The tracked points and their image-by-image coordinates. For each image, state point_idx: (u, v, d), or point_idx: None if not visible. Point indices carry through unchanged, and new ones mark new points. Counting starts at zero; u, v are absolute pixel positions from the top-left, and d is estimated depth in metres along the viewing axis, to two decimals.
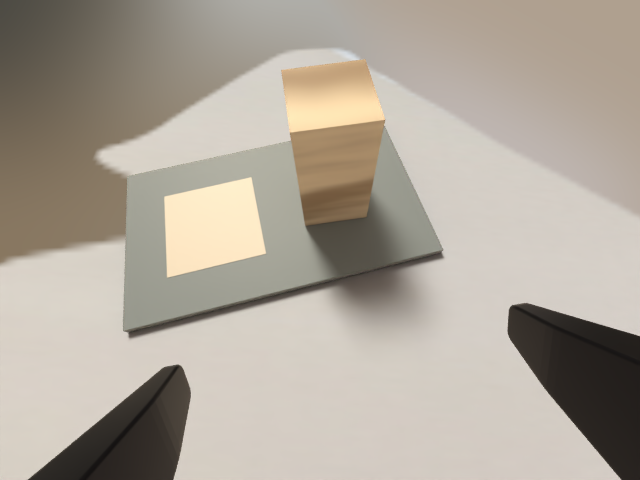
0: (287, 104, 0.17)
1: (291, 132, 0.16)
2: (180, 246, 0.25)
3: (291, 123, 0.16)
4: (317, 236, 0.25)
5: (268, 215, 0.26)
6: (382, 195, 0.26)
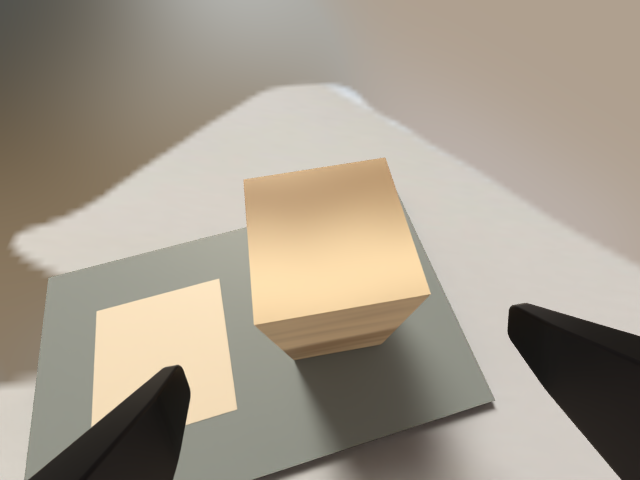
0: (251, 256, 0.10)
1: (256, 323, 0.09)
2: (113, 397, 0.17)
3: (256, 301, 0.09)
4: (311, 378, 0.17)
5: (242, 341, 0.18)
6: None
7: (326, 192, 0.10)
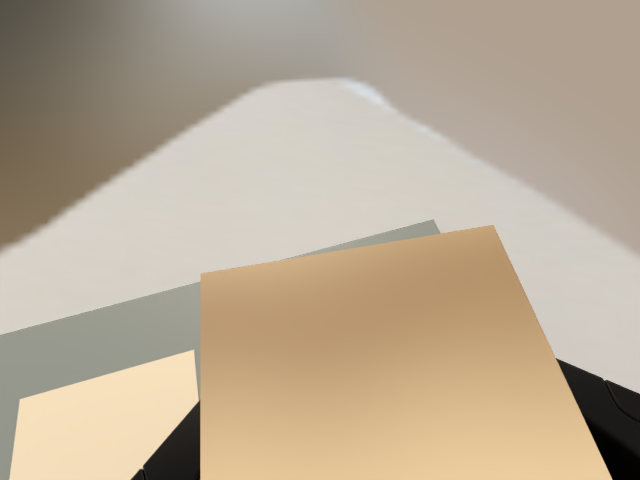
0: None
1: None
2: None
3: None
4: None
5: None
6: None
7: (378, 309, 0.05)
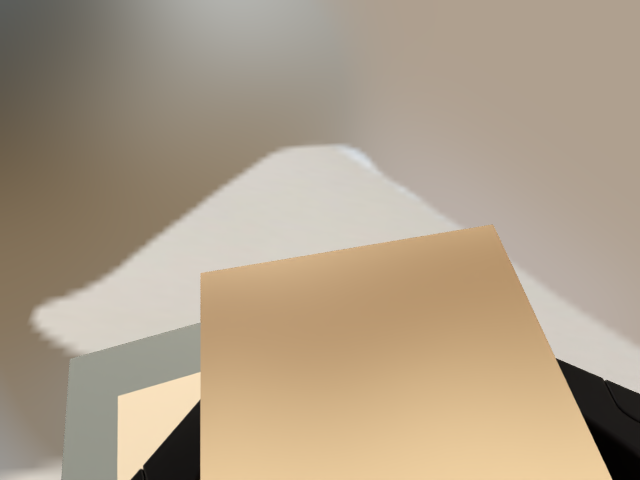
0: None
1: None
2: None
3: None
4: None
5: None
6: None
7: (377, 308, 0.05)
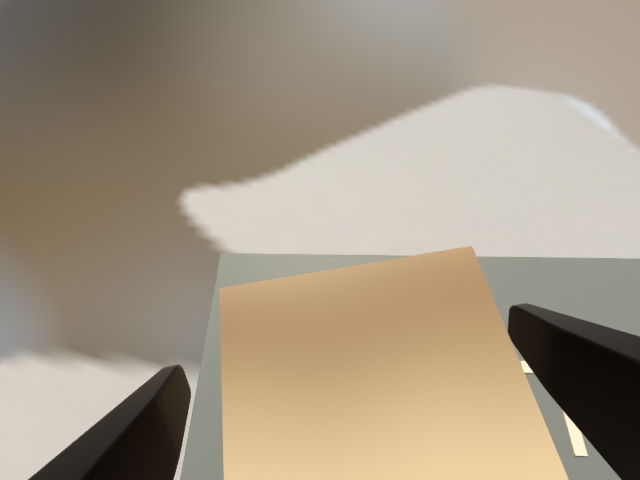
0: (228, 471, 0.05)
1: None
2: None
3: None
4: None
5: None
6: None
7: (371, 319, 0.06)
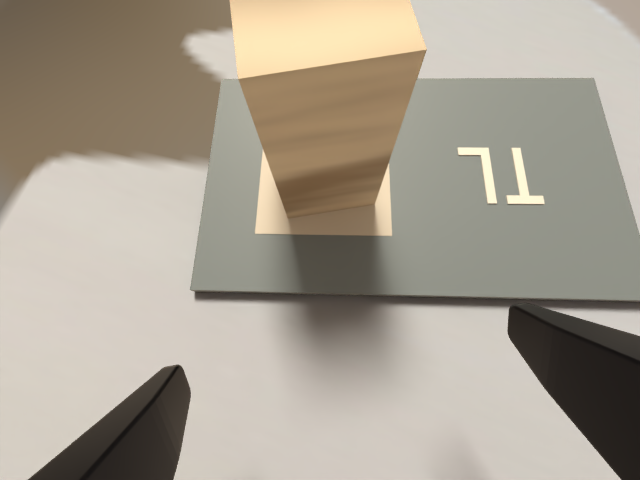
0: (234, 20, 0.09)
1: (241, 78, 0.08)
2: (277, 195, 0.18)
3: (241, 59, 0.08)
4: (469, 230, 0.17)
5: (404, 181, 0.18)
6: (576, 192, 0.18)
7: None
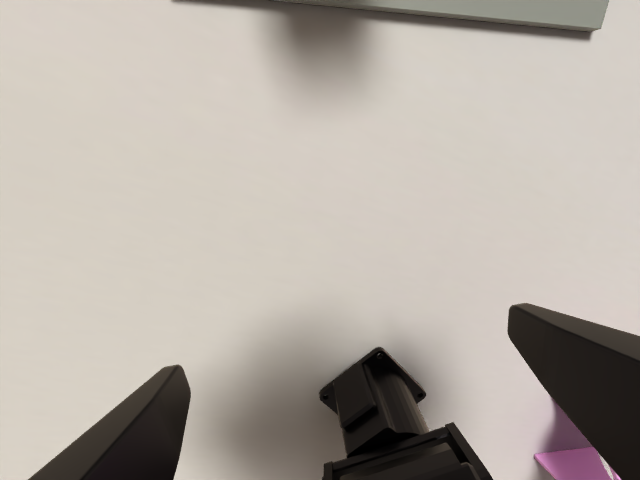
0: None
1: None
2: None
3: None
4: None
5: None
6: None
7: None
